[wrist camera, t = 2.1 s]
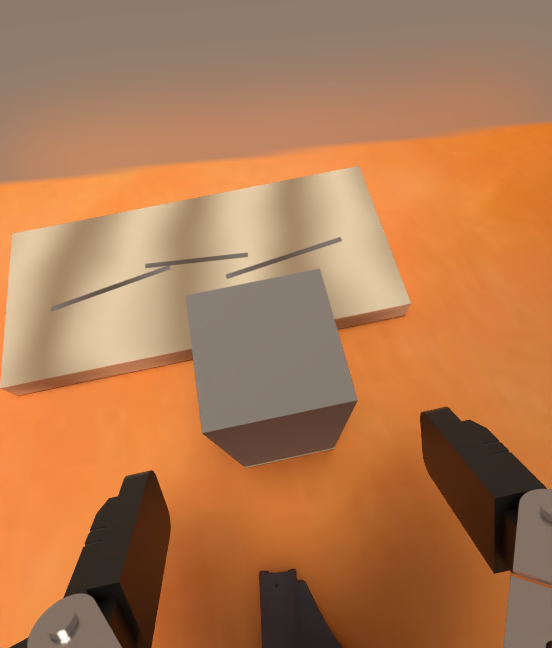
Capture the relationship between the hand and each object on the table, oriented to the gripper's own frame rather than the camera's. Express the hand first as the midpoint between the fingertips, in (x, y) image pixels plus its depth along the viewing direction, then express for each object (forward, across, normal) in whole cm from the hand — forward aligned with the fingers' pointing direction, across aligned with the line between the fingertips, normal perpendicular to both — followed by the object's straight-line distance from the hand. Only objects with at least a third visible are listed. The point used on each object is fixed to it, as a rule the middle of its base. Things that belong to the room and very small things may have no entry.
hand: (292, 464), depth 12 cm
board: (+15, +3, -3) cm, 16 cm away
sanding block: (+9, 0, +4) cm, 9 cm away
